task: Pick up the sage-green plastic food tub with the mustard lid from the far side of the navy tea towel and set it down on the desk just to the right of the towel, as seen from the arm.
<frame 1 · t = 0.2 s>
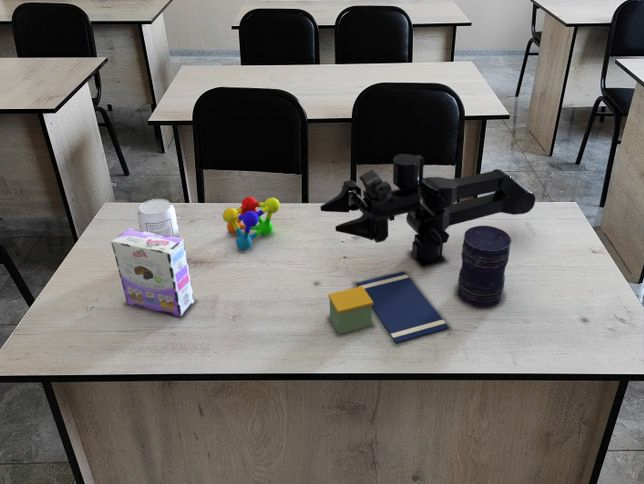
hand: (327, 218, 129), 17 cm above the table, tool horizontal, fingers open, 9 cm apart
candy box: (160, 303, 131), on the table
food tub: (350, 321, 126), on the table
storage jar: (479, 294, 134), on the table
supplement can: (165, 261, 145), on the table
tea towel: (400, 305, 131), on the table
molecular model: (250, 241, 152), on the table
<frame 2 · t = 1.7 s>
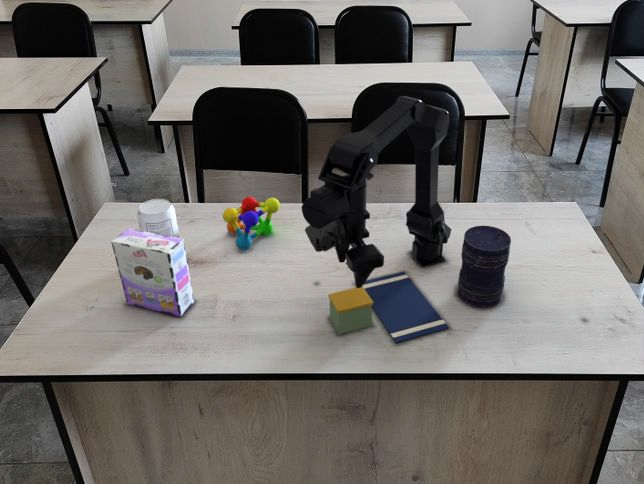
hand: (350, 274, 120), 12 cm above the table, tool pointing down, fingers open, 9 cm apart
nothing on the table moved.
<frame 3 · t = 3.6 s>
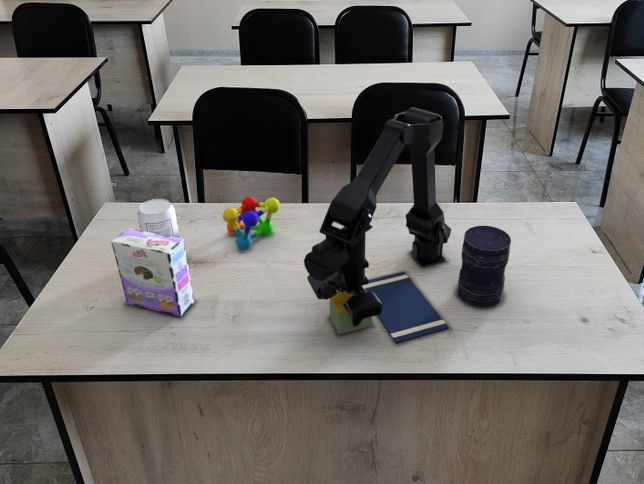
hand: (350, 317, 125), 1 cm above the table, tool pointing down, fingers closed on food tub, 5 cm apart
food tub: (350, 321, 126), on the table, touching gripper
everything else where it was.
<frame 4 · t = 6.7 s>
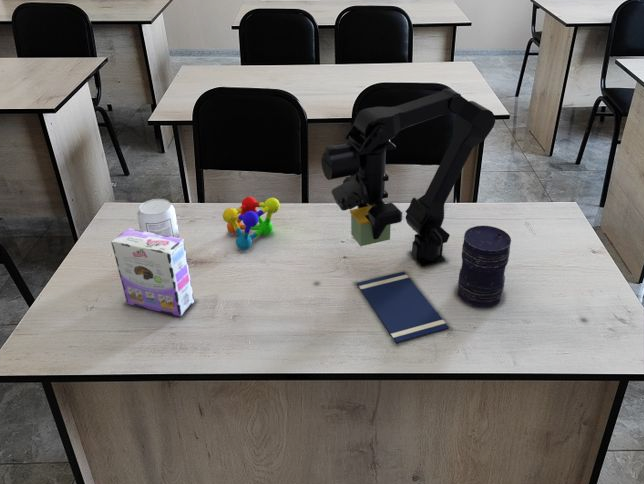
hand: (370, 232, 135), 11 cm above the table, tool pointing down, fingers closed on food tub, 5 cm apart
food tub: (370, 236, 135), point 10 cm above the table, touching gripper
everything else where it was.
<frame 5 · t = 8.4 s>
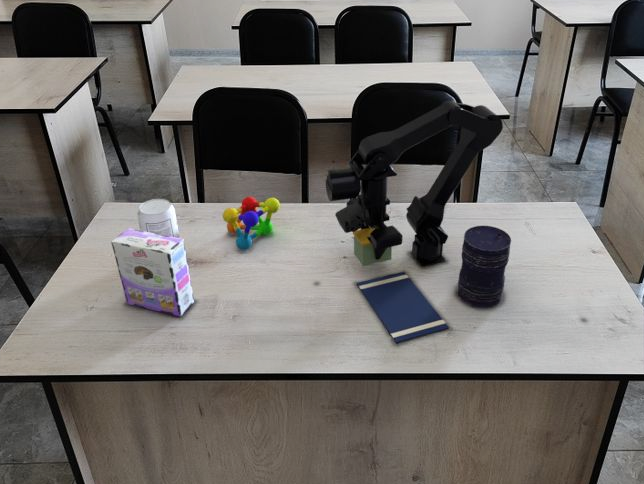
hand: (372, 252, 141), 4 cm above the table, tool pointing down, fingers closed on food tub, 5 cm apart
food tub: (372, 256, 141), point 3 cm above the table, touching gripper
everything else where it was.
when the fingers open (1 cm above the table, at t = 9.7 s): food tub stays where it is, on the table.
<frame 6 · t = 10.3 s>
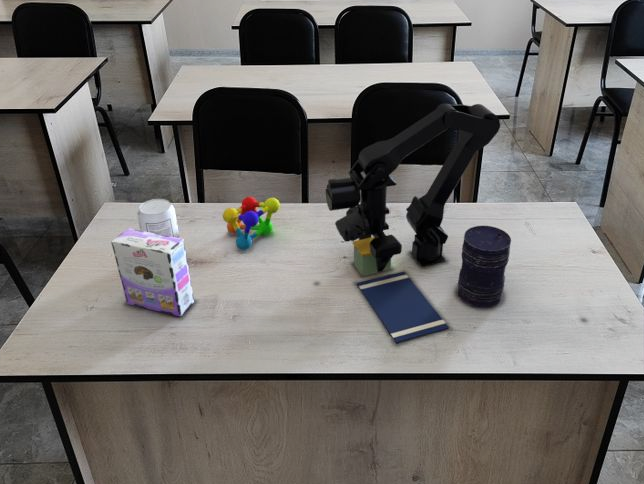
hand: (372, 260, 142), 2 cm above the table, tool pointing down, fingers open, 9 cm apart
food tub: (372, 266, 143), on the table
everything else where it was.
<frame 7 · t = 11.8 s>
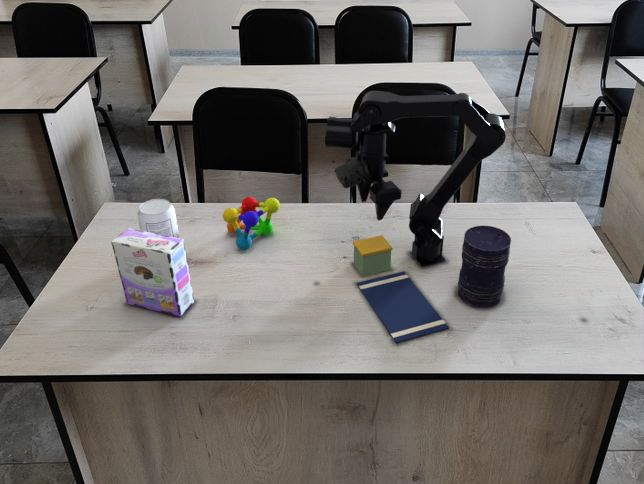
hand: (371, 210, 141), 12 cm above the table, tool pointing down, fingers open, 9 cm apart
nothing on the table moved.
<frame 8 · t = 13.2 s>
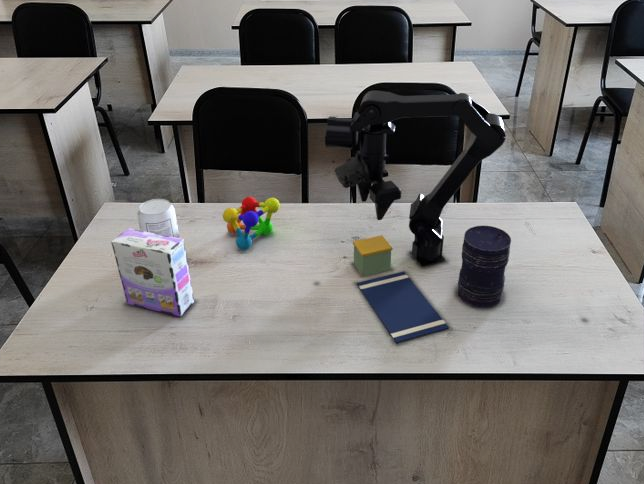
hand: (371, 210, 141), 12 cm above the table, tool pointing down, fingers open, 9 cm apart
nothing on the table moved.
at the end: food tub inside the target area (1.6 cm from its centre), on the table; food tub tilted 0°; food tub touching table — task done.
